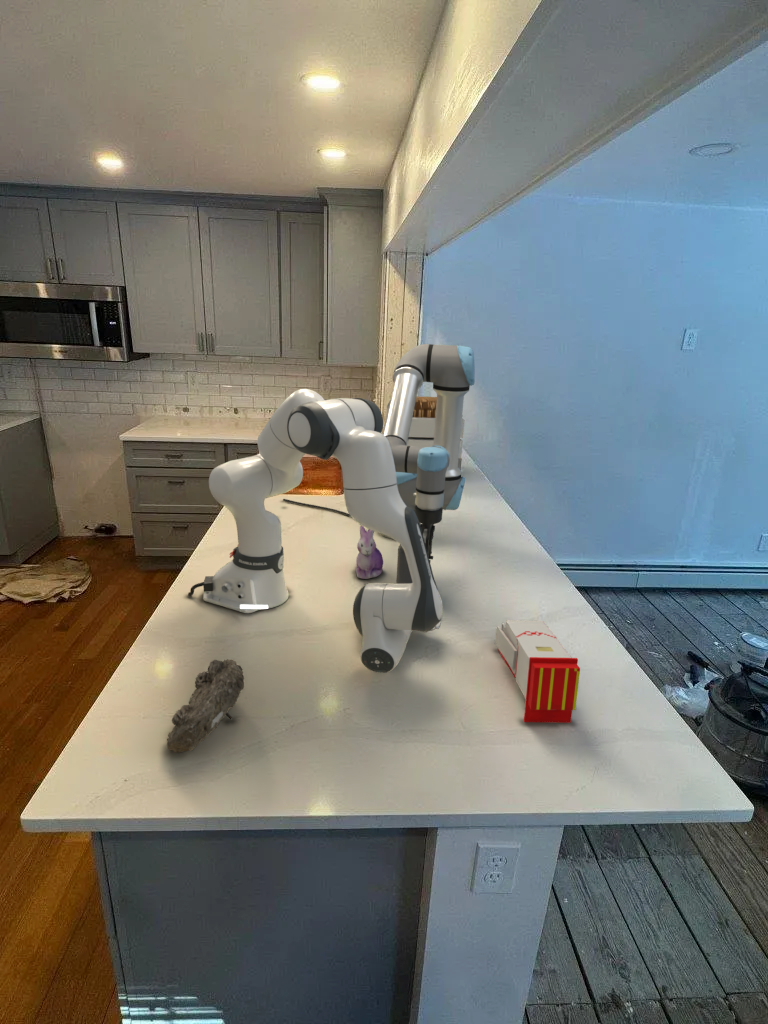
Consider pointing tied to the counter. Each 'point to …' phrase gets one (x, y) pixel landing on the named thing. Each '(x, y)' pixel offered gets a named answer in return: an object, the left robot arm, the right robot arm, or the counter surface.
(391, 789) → the counter surface
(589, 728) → the counter surface
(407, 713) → the counter surface
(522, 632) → the toy
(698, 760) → the counter surface
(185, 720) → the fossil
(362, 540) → the figurine
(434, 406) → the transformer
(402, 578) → the bottle
